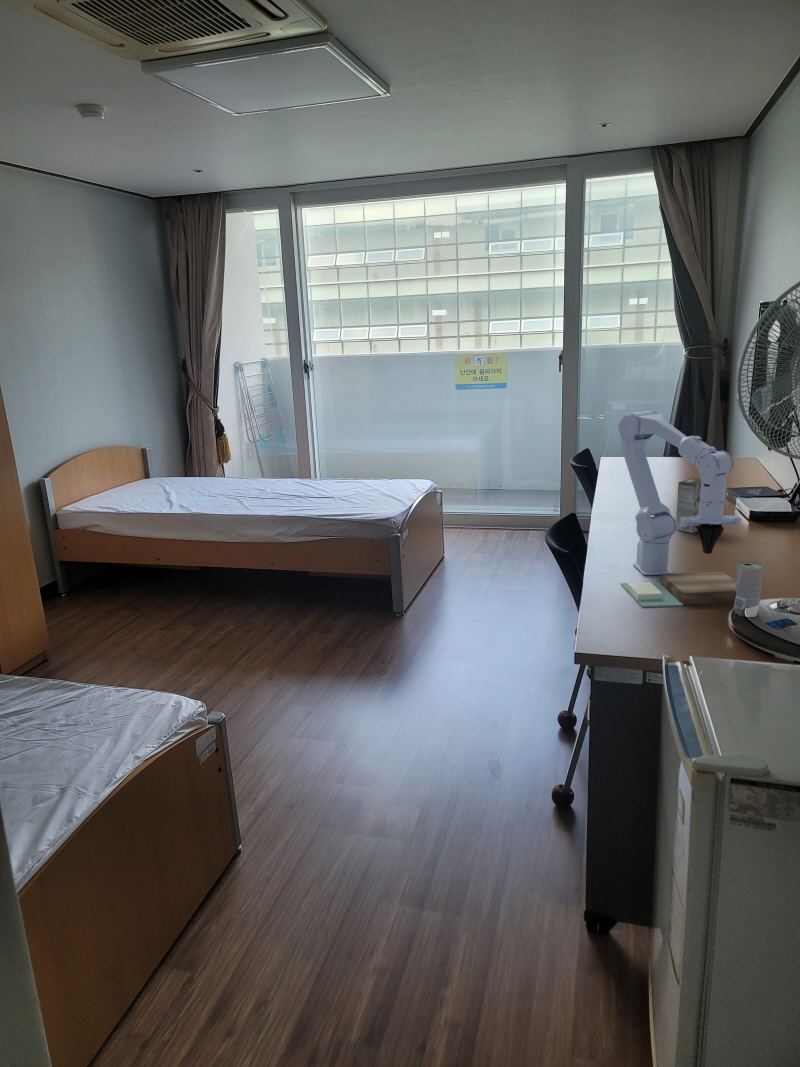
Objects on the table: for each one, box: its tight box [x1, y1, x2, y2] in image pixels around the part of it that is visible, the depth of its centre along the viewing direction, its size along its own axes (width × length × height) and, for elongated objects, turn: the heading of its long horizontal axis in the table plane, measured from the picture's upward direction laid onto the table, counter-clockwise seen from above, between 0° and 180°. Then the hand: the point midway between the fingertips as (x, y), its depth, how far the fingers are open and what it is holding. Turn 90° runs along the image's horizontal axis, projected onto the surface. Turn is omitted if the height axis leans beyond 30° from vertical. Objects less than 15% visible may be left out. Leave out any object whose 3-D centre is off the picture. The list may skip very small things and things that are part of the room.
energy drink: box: [732, 561, 764, 610], centre depth 168 cm, size 5×5×12 cm
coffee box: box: [675, 477, 701, 534], centre depth 237 cm, size 9×6×16 cm
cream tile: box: [626, 581, 662, 600], centre depth 182 cm, size 8×6×2 cm
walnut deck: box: [660, 571, 736, 605], centre depth 182 cm, size 14×16×3 cm
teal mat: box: [620, 581, 684, 608], centre depth 182 cm, size 16×10×1 cm, turn 1°
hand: (707, 552), depth 184 cm, fingers closed
